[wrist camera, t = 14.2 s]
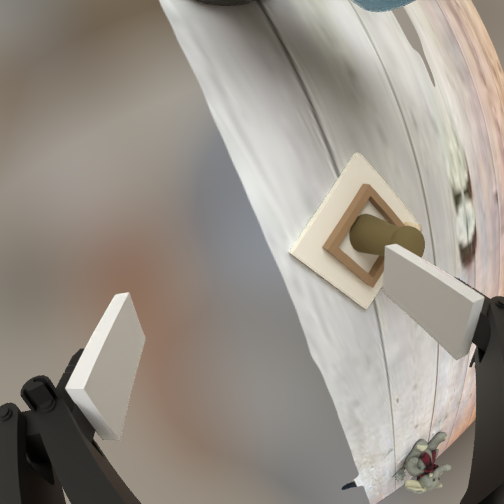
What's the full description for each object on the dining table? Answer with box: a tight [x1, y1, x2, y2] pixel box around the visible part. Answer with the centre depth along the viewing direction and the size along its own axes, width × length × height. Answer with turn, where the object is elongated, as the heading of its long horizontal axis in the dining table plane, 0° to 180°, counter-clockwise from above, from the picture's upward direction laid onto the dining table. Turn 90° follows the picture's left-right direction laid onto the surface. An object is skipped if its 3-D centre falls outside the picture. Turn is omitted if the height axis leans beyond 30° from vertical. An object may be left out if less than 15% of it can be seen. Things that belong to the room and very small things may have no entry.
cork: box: [349, 214, 425, 257], centre depth 37 cm, size 6×6×11 cm
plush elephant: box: [393, 432, 451, 494], centre depth 68 cm, size 27×22×21 cm
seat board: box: [289, 153, 421, 310], centre depth 41 cm, size 18×18×4 cm
